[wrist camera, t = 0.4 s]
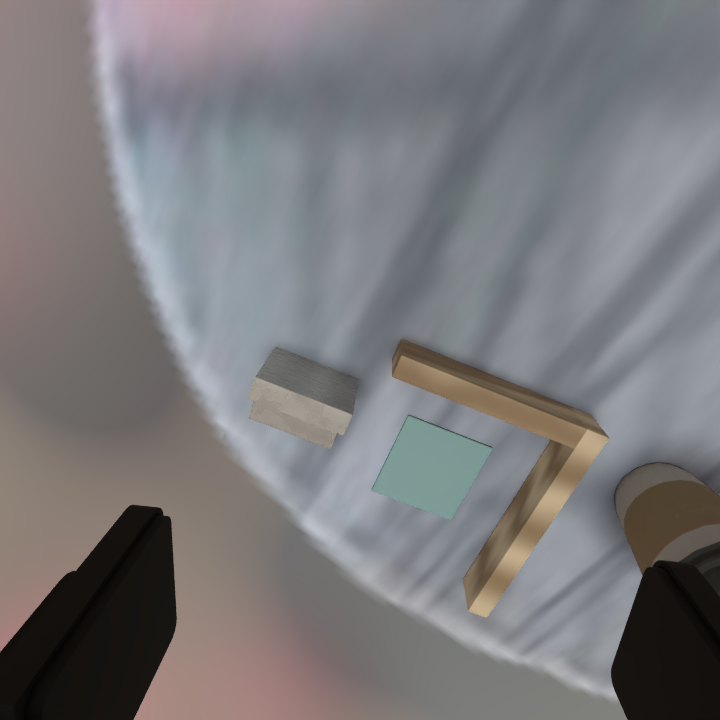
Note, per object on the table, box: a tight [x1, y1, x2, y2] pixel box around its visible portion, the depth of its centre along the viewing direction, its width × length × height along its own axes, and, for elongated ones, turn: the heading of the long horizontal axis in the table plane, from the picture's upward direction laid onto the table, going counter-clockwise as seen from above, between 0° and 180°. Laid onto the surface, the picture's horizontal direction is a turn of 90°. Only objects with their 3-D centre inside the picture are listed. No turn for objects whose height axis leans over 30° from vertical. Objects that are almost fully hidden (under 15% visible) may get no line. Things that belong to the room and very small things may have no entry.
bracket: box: [248, 347, 359, 449], centre depth 43 cm, size 8×7×7 cm
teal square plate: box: [372, 415, 493, 520], centre depth 48 cm, size 9×8×1 cm
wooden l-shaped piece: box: [392, 339, 609, 618], centre depth 46 cm, size 22×18×4 cm
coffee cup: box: [615, 463, 720, 596], centre depth 40 cm, size 11×11×15 cm
